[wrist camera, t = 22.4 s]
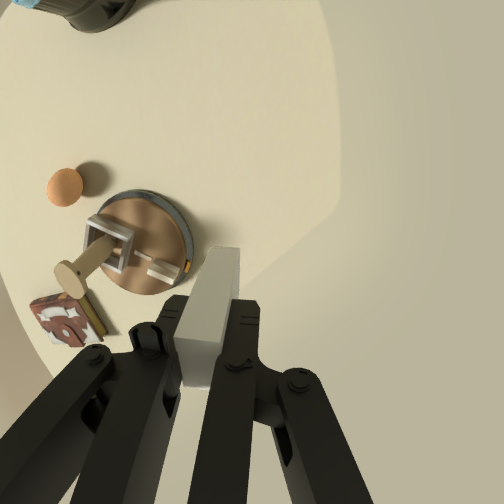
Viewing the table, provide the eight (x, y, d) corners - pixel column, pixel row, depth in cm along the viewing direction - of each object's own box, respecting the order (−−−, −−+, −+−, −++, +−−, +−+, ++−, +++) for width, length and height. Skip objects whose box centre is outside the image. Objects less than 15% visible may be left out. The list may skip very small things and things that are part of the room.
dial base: (88, 191, 49) (84, 193, 47) (191, 190, 48) (188, 192, 47) (106, 284, 59) (103, 288, 57) (196, 294, 58) (194, 299, 57)
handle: (109, 220, 48) (63, 258, 34) (128, 248, 50) (89, 292, 37) (94, 232, 49) (49, 271, 36) (113, 258, 51) (74, 302, 38)
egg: (91, 199, 50) (67, 214, 42) (65, 198, 50) (41, 212, 42) (89, 164, 46) (63, 174, 39) (62, 165, 46) (36, 175, 39)
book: (82, 286, 60) (72, 297, 56) (111, 333, 67) (104, 346, 62) (35, 297, 64) (26, 307, 60) (62, 337, 71) (54, 348, 66)
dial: (91, 266, 55) (78, 280, 50) (105, 182, 47) (88, 191, 41) (171, 303, 58) (163, 321, 52) (201, 221, 49) (192, 235, 44)
